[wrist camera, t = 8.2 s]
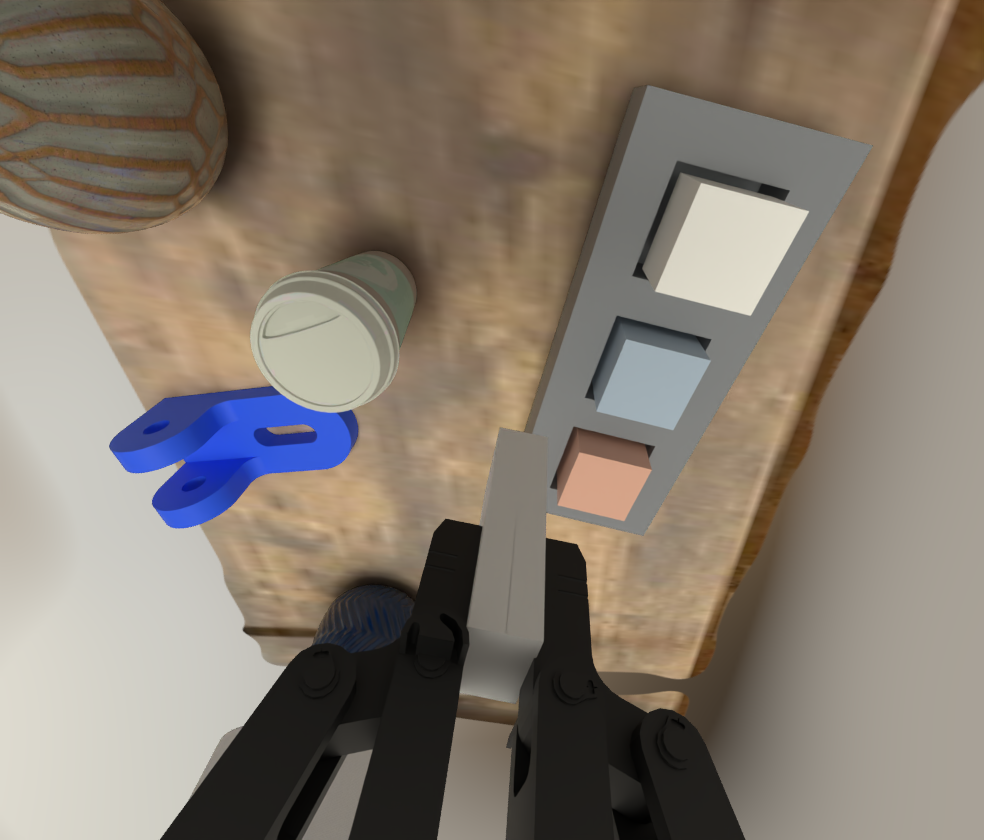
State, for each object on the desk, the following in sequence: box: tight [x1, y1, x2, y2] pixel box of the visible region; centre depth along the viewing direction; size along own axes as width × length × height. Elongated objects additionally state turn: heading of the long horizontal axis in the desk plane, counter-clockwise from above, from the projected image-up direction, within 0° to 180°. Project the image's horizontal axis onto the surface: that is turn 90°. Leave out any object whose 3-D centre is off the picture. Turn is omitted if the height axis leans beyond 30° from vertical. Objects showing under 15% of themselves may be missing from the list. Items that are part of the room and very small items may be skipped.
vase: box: [0, 0, 228, 234], centre depth 24 cm, size 13×13×18 cm
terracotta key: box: [557, 427, 652, 521], centre depth 37 cm, size 5×5×4 cm
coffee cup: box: [250, 251, 417, 413], centre depth 31 cm, size 9×8×12 cm
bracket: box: [109, 386, 358, 528], centre depth 42 cm, size 18×8×9 cm, turn 100°
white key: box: [642, 172, 809, 316], centre depth 26 cm, size 5×5×4 cm
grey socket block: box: [524, 85, 873, 536], centre depth 34 cm, size 30×12×5 cm, turn 168°
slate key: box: [592, 316, 711, 430], centre depth 32 cm, size 5×5×4 cm
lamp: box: [190, 584, 415, 840], centre depth 44 cm, size 20×20×37 cm
